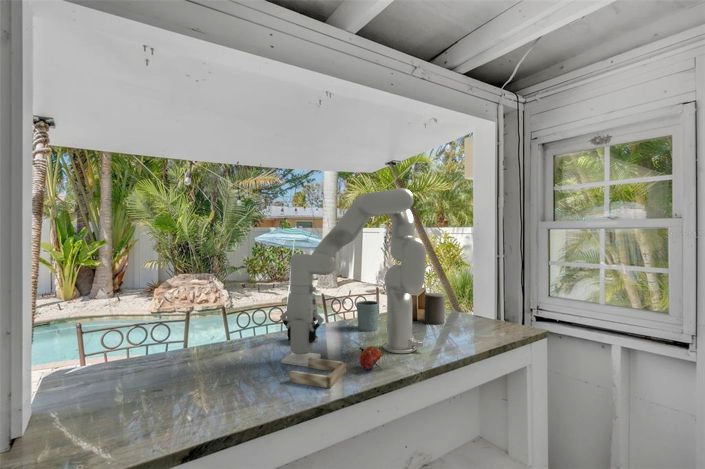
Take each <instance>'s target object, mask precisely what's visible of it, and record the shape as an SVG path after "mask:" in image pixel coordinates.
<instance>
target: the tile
mask: <svg viewBox="0 0 705 469" xmlns="http://www.w3.org/2000/svg"><path fill="white" fill-rule="evenodd" d="M321 356H322V355H321V353H313V352H310V353H308V354H303V355H298V354H294V353H293V352H292V353H290V354H289V355H287V356H285V357H284V358H282V359H281V360H280V362H281V364H286V365H287V364H288V365H292V366H299V367H305V368H308V358H318V359H321V358H322V357H321Z"/></svg>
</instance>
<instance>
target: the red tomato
mask: <svg viewBox="0 0 705 469" xmlns="http://www.w3.org/2000/svg"><path fill="white" fill-rule="evenodd" d="M358 350H360V352H361V353H360V355H359V356H358V359H359V360H358V361H359V364H360V366H361V367H362V368H363V369H365V370H366V371H369V370H371V369H372V367H373V366H374V365H375V366H376V367H378V368H379V369H380V370H381V371H383V369H382V368H381V367H380V366H379V365H378V364H377V362H378V361H379V360H380V359H381V357H382V356H383V354H382V351H381V350H380V349H379V348H378V347H375V346H372V345H371V346H367V347H366V348H362V347H359V348H358Z"/></svg>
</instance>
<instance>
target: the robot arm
mask: <svg viewBox="0 0 705 469" xmlns="http://www.w3.org/2000/svg"><path fill="white" fill-rule="evenodd" d="M414 200H415V199H414V195H413V193H412V192H411V191H410V190H409V189H408V188H405V187H398V188H397V187H396V188H393V189H386V190H381V191H380V190H378V191H371V192H366V193H362V194H359V195H358V196H357V197H356V198H355V199H354V200H353V201H352V203H351V204H350V205H349V207H348V209H346V211H345V212H344V214H343V215H342V217H341V218H340V219H339V220H338V222H337V223H336V225H334V226H333V227H332V228H331V230H330V231H329V232H328V233H327V234H326V235H325V236H324V238H322V240H320V242H319V243H318V245H317V246H316V247H315V249H314V250H313V252H312V253H311V254H309V253H295V254H292V255H291V256H290V293H289V294H288V296H287V297H288V298H287V304H286V311H285V312H283V313H282V314H281V315H279V317H280V319H281V321H282V323H283V324H284V326H285V328H286V329H287V341H289V342H291V322H292V321H293V319H296V320H304V322H305V323H307V324H309V328H310V330H311V331H310V332H309V343H312V344H313V343H314V341H315V339H316V335H317V330H318V328H320V326H321V325H322V323H323V322H324V321H325V319H324V318H323V317H322V316H321V315H320V314H319V313H318V305H317V304H318V302H317V298H316V294H315V293H314V292H316V287H315V286H314V284H313V275H318V276H328V275H331V274H332V273H333V272H334V271H335V270H336V268H337V261H336V258H335V255H337V253H338V252H339V251H340V250H341V249H342V248H344V247H345V246H346V245H349V244H350V243H351V242H353V241H354V240H356V239H357V237H358V236H359V235H360V233H361V232H362V230H363V229H364V227H365V226H366V224H367V223H368V222H369V220H370V219H371V217H372V218H373V217H379V216H380V217H381V216H389V218H390V220H391V239H390V251H389V252H390V255H391V257H392V259H394V260H395V261H398V262H400V264H394V265H392V266H390V267H389V268H388V269H387V271H386V272H385V276H384V277H385V278H384V284H385V288H386V289H385V291H386V341H385V342H384V343H383V344H382V348H383V350H385V352H386V351H387V352H388V353H394V354H409V353H413V352H415V351H416V350H417V347H419V348H424V346H425V342H424V341H422V339H416V338H415V336H414V335H413V296H412V295H414V294H417V293H419V291H421V290H422V288H423V286H424V283H425V275H426V264H427V263H426V262H427V250H426V246H425V243H424V242H423V240H421V239H420V238H419V237H415V228H416V227H415V217H414V215H413V213H412V210H411V208H412V206H413V205H414ZM315 322H316V323H315Z"/></svg>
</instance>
